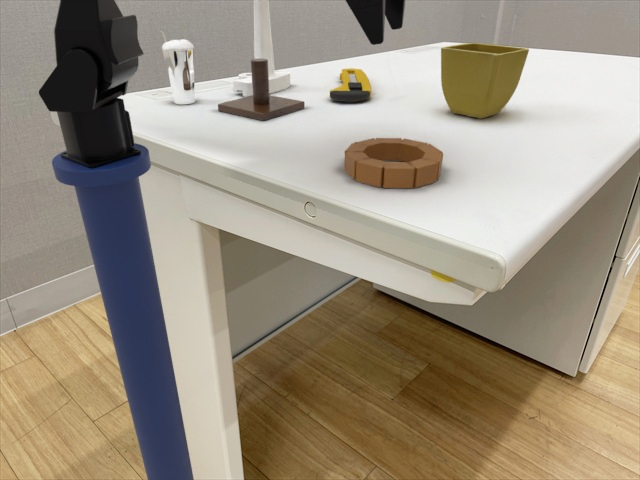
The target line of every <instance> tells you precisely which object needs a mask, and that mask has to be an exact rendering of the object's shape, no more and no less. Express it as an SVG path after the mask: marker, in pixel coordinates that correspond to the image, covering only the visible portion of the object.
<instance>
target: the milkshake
mask: <svg viewBox="0 0 640 480" xmlns="http://www.w3.org/2000/svg"><path fill="white" fill-rule="evenodd" d="M160 33H161V35H162V38H163V41H164V43H162V46H161V51H162V55H163V60H164V64H165V67H166V70H167V76H168V80H169V83H170V84H169V86H170V90H171V95H172V100H173V103H174V104H175V105H178V106H179V105H181V106H182V105H192V104H194V103H196V90H195V89H196V88H195V87H196V86H195V54H194V52H195V46H194V44H193V43H192V42H191V41H190V40H188V39H185V38H181V39H171V40H169V41H168V39H167V37H166V34H165V32H164V31H160Z"/></svg>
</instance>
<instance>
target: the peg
mask: <svg viewBox="0 0 640 480" xmlns="http://www.w3.org/2000/svg"><path fill="white" fill-rule="evenodd" d="M250 73H252V89H253V95H252V96H248V97H244V96H243V97H241V98H237V99H233V100H228V101H225V102H220V103H218V104H217V110H218V112H221V113H227V114H231V115H235V116H240V117H243V118H248V119H254V120H257V121H263V122H264V121H268V120H270V119H274V118H278V117H280V116H284V115H287V114H290V113H293V112H296V111H299V110H303V109H305V101H304V100H299V99H292V98H288V97H283V96H277V95H270V94H269V75H268V60H267V59H254V58H252V59H250Z"/></svg>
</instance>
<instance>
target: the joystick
mask: <svg viewBox="0 0 640 480" xmlns="http://www.w3.org/2000/svg"><path fill="white" fill-rule="evenodd" d="M270 10H271V9H270V0H253V56H254V57H253V59H267V60H268V75H269V95H270V94H274V93H278V92H281V91H284V90H286V89H288V88H290V87H291V72H288V71H281V70H276V69H275V59H274V58H275V57H274V46H273V35H272V24H271V11H270ZM232 85H233V92H234V93H242V97H243V98H244V97H248V96H252V95H253V89H252V73H251V72H242V73H239V74H238V79H233V80H232Z"/></svg>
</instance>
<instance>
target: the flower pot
mask: <svg viewBox="0 0 640 480" xmlns="http://www.w3.org/2000/svg"><path fill="white" fill-rule="evenodd" d="M529 52H530V48H526V47H517V46H508V45H500V44H499V45H498V44H489V43H480V42H468V43H460V44H455V45H447V46H443V47H441V48H440V79H441V80H440V82H441V89H442V94H443V96H444V100H445V103H446V104H447V107H448V109H449V110H450V112H451V113H453V114H456V115H458V114H459V115H463V116H468V117H472V118H477V119H485V118H489V117H490V116H494V115H497V114H499V113H500V112H502V110H503V109H504V108H505V107H506V106H507V104H508V103H509V102H510V100H511V98H512V97H513V95H514V94H515V92H516V90H517V88H518V85H519V83H520V80H521V77H522V74H523V70H524V67H525V65H526V62H527V57H528V55H529Z"/></svg>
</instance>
